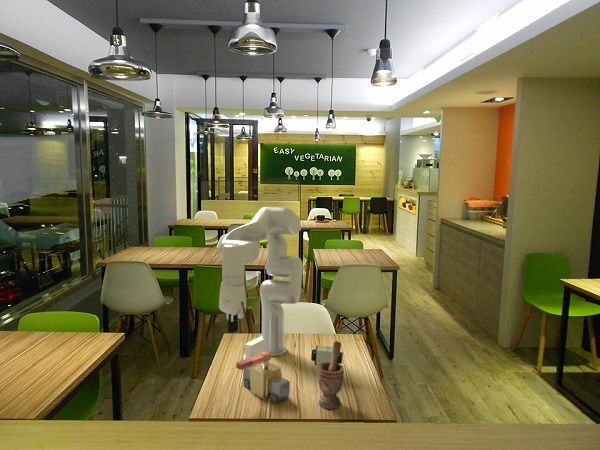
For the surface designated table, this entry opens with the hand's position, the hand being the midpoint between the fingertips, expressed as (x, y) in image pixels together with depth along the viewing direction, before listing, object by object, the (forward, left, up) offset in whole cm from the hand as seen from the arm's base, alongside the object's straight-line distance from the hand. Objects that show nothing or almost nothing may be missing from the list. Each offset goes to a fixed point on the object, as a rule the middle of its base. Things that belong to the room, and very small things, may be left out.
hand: (232, 331), depth 157 cm
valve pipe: (+7, +9, -23) cm, 26 cm away
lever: (+7, +4, -10) cm, 13 cm away
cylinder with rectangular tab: (-9, +17, -23) cm, 30 cm away
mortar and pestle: (+27, +21, -23) cm, 41 cm away
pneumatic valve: (+13, +35, -23) cm, 44 cm away
